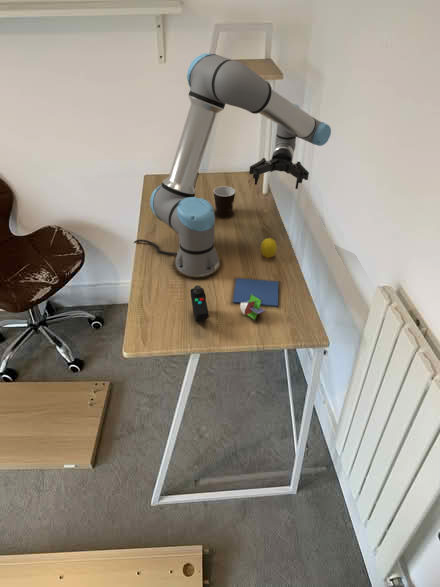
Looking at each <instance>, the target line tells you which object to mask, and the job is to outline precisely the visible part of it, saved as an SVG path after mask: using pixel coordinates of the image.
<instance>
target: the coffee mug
mask: <svg viewBox="0 0 440 587" xmlns="http://www.w3.org/2000/svg"><path fill="white" fill-rule="evenodd" d="M213 196H214V197H213V200H214V206H215V214H216V216H217V217H219V218H229V217H231V216H232V215H233V208H234V203H235V197H236V189H235V188H233V187H231V186H228V185H227V186H226V185H222V186H221V185H220V186H217V187H215V188H214V189H213Z"/></svg>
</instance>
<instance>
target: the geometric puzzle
mask: <svg viewBox="0 0 440 587" xmlns="http://www.w3.org/2000/svg"><path fill="white" fill-rule="evenodd" d="M261 302H262V299H258V298H257V297H255V296H253V295H252V294H251V295H250V298H249V301H246V302H242V303H240V304H239V305H240V311H241V312H242V314H243V316H247V317H248V318H250V319H253V320H254V321H256V320H257V318H258V317H257V316H258V315H259V314H261V313H262V314H263V313H264V312H265V313H266V309H264V308H262V307H261ZM263 307H265V306H264V305H263ZM262 314H261V315H262ZM261 315H260V316H259V317H261Z"/></svg>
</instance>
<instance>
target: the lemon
mask: <svg viewBox="0 0 440 587" xmlns="http://www.w3.org/2000/svg"><path fill="white" fill-rule="evenodd" d="M277 245H278V244H277V243H276V240H275V239H273V238H271V237H268V238H264V239H263V241H262V242H261V245H260V253H261V254H262V256H263V257H265V258H267V259H268V258H272V257H274V256H275V255H276V253H277V249H278V246H277Z"/></svg>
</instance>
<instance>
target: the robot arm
mask: <svg viewBox="0 0 440 587" xmlns="http://www.w3.org/2000/svg"><path fill="white" fill-rule="evenodd" d="M186 72H187V73H186V79H187V85H188V87H189V92H188V94H187V96H188V99H189V101H190V106H189V109H188V113H187V115H186V119H185V123H184V126H183V129H182V132H181V136H180V138H179V142H178V146H177V148H176V152H175V155H174V160H173V162H172V165H171V169H170V172H169V175H168V177H167V178H164V179H163V180H162V182H161V184H160V185H158V186H157V188H155V189H154V190H153V191H152V193H151V195H150V200H149V206H150V210H151V211H152V213H153V214H154V215H155V216H156V218H157V219H158V220H159V221H160V222H162V223H164V224H165V225H167V227H169V228H170V229H172V230H173V231H174V232H176V233H177V235H178V244H179V246H178V250H177V252H175V251H174V252H172V251H171V252H170V251H164V250H161V249H159V248H158V245H157V244H156V243H154V242H152V241H150V240H147V239H142V238H141V239H136V240H134V241H133V244H136V243H141V242H143V243H147V244H149V245H151V246H154V249H155V251H156V252H157V253H160V254H165V255H172V256H175V259H174V266H175V270H176V271H177V273H179V275H181V276H183V277H185V278H188V279H192V280H193V279H196V280H199V279H206V278H209V277H212V276H213V275H215V274H216V273H217V272H218V271H219V269H220V264H221V263H220V262H221V261H220V257H219V255H218V252H217V248H216V247H215V224H216V223H215V222H216V217H215V216H216V215H215V210H214V207H213V204H211V202H209V201H208V200H206V199H204V198H202V197H199V198H198V197H197V196H196V193H197V191H196V188H195V189H194V186H193V185H194V182H195V179H196V176H197V173H199V171H200V170H199V169H200V166H201V165H202V164H201V163H202V160H203V157H204V155H205V152H206V149H207V146H208V142H209V140H210V136H211V133H212V131H213V127H214V124H215V122H216V119H217V116H218V113H220V112H222V111H224V110H225V107H226V105H229V106H232V107H236V108H239V109H243V110H245V111H247V112H249V113H251V114H255V115H257V114H260V115H262V116H263V117H265V118H267V119H268V120H270V121H272V122H274V123H275V124H276V133H275V134H276V135H275V143H274V149H273V151H272V156H271V159H269V160H267V159H266V157H262V158H261V160H259V161H257V162H255V163H254V164H252V165H250V166H249V175H252V178H253V179H254V186H255V185H258V182H259V179H260V175H263V174H266V173H268V172H270V173H272V172H284V173H286V174H287V175H290V176H293V177H294V178H296V180H295V181H296V182H295V190H299V184H302V183H303V180H304V181H308V180H309V175H310V172H309V171H308V170H307V169H306V168H305V167H304V166H303V165H302V162H301V161H296V163H294V162H293V160H294V154H295V150H296V143H297V138H298V139H300V140H303V141H305V142H308V143H310V144H312V145H315V146H317V147H318V146H319V147H321V146H324V145H326V144H327V143H328V142H329V139H330V138H331V134H332V128H331V126H330V125H329V124H327V123H325V122H324V121H320V120H319V119H317V118H315V117H314V116H312V115H311V114H310V113H308V112H306V111H305V110H304V109H302V108H300V106H299V105H298V104H297V103H293V102H291V101H290V100H289V99H287V98H286V97H284V96H283V95H281V94H280V93H279V92H277V91H275V90H274V89H273V88H272V85H271V84H270V82H269V81H267V80H265V79H264V78H263V77H262V76H261V75H259V74H258V73H256V72H255V71H254V70H252V69H251V68H250V67H248V66H247V65H245V64H244V63H243V62H240V61H238V60H234V59H230V58H228V57H225V56H222V55H219V54H216V53H208V52H205V53H201V54H200V55H198V56H196V57H195V58H194V59H193V60H191V63H190V64H189V66H188V69H187V71H186Z"/></svg>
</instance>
